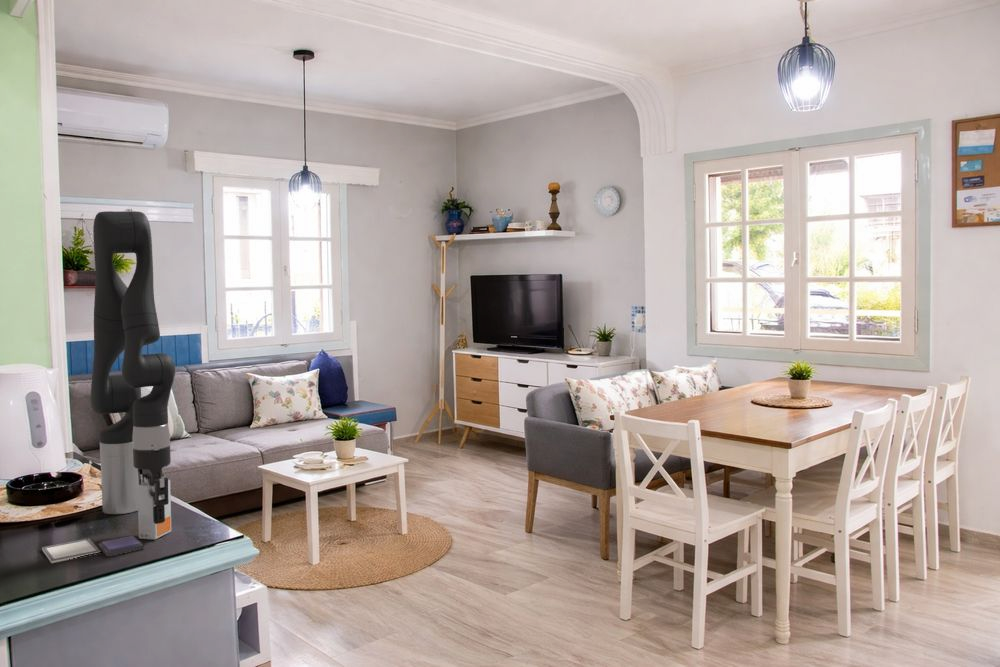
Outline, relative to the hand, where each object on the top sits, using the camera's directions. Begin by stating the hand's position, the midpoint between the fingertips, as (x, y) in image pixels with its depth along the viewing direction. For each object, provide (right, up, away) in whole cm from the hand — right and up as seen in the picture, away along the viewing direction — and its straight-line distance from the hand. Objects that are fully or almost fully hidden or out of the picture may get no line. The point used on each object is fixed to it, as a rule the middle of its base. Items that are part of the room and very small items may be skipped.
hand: (154, 518), depth 176 cm
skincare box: (0, -4, +1) cm, 4 cm away
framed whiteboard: (-13, -5, -9) cm, 17 cm away
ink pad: (-3, -5, -8) cm, 10 cm away
